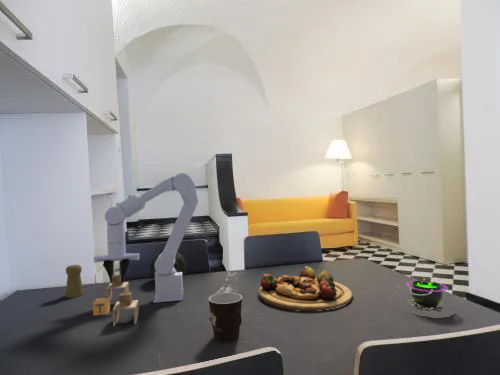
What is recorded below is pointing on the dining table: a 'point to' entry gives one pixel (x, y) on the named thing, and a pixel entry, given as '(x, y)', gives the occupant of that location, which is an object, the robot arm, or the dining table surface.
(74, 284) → the cork
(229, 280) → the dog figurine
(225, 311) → the coffee mug
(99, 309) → the orange cube
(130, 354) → the dining table surface
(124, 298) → the cover
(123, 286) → the cover
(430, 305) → the toy cauldron
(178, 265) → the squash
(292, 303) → the wooden plate with food
